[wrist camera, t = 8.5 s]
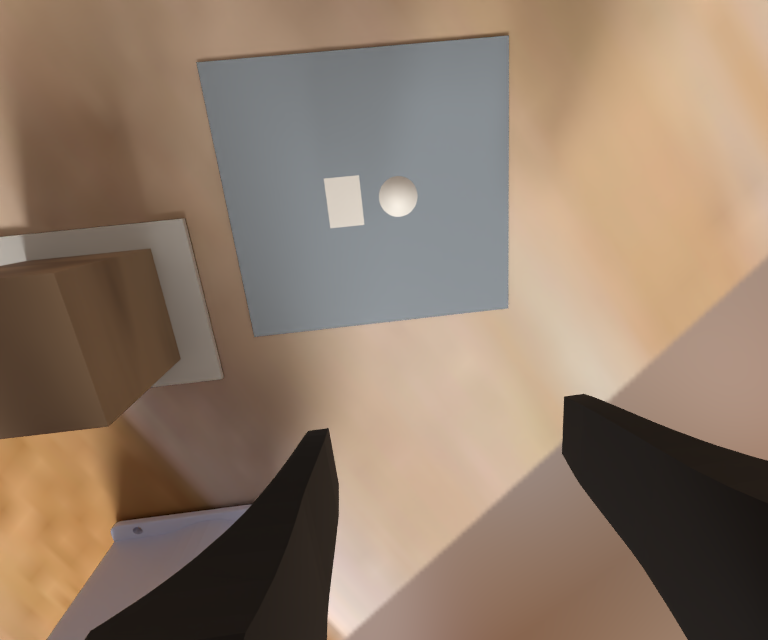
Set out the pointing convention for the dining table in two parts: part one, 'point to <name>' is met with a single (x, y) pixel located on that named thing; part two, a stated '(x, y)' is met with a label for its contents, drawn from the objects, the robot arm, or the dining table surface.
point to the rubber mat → (173, 274)
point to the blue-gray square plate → (365, 181)
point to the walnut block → (80, 340)
